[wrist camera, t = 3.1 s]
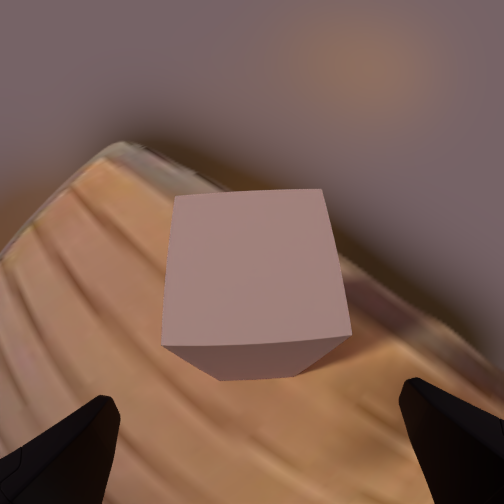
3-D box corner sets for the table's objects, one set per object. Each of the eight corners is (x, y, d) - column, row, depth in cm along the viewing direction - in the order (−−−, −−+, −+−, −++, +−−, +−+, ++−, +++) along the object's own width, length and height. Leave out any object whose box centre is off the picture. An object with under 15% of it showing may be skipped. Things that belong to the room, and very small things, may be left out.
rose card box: (293, 376, 18) (352, 334, 7) (219, 380, 18) (161, 345, 7) (287, 308, 20) (321, 189, 9) (218, 312, 20) (175, 196, 9)
